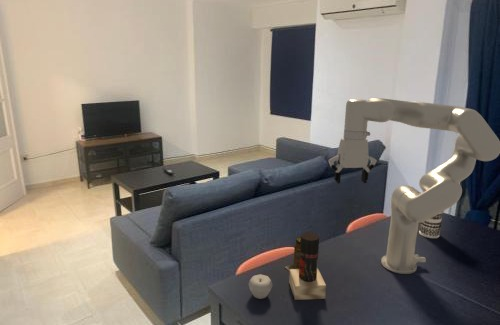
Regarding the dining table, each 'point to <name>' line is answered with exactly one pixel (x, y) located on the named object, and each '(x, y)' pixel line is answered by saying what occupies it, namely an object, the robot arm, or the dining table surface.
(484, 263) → the dining table surface
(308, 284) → the block
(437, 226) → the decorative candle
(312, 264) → the deodorant
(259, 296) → the apple
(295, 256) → the condiment
